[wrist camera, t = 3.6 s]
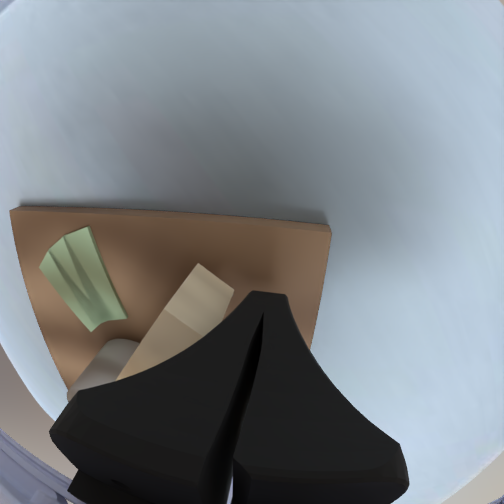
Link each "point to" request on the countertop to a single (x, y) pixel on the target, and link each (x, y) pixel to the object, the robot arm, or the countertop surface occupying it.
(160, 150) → the countertop surface
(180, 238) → the base
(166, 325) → the beige elongated block piece
